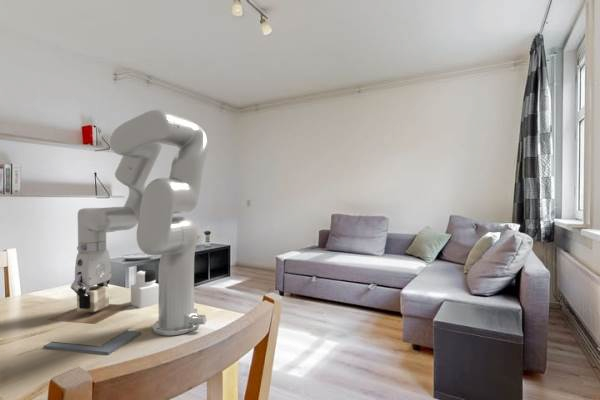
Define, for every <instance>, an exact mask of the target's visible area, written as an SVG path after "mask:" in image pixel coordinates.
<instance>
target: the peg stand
mask: <svg viewBox="0 0 600 400" xmlns="http://www.w3.org/2000/svg"><path fill="white" fill-rule="evenodd" d="M132 306H133V305H132V304H129V305H128V304H127V305H126V304H116V303H115V304H114V303H109V305H108V306H106V307H104V308H102V309H99V310H97V311H95V312H92V311H77V307H75V308H73V309H71V310H68V311H66V312H63V313H60V314H59V315H56V316H53V317H51V318H48V319H47V321H53V322H64V323H65V322H66V323H76V324H77V323H78V324H79V323H81V324H91V325H96V324H98V323H100V322H102V321H104V320H106V319H109V318H110V317H112V316H114V315H116V314H118V313H120V312H123V311H124V310H126V309H128V308H130V307H132Z"/></svg>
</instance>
